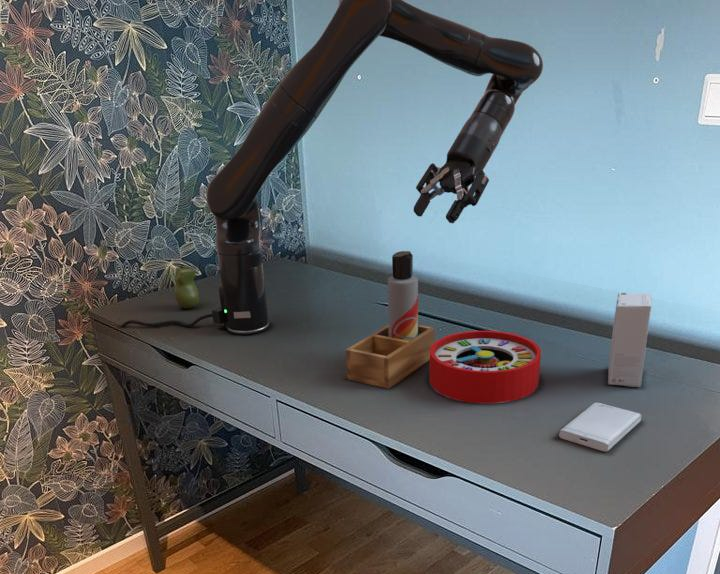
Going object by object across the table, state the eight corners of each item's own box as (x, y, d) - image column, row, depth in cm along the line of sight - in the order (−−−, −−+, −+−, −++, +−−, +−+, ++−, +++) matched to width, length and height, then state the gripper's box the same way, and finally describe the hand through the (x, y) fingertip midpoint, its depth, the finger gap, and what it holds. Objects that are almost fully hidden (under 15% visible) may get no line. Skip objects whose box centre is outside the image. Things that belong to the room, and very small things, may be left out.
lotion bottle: (415, 360, 149) (415, 256, 139) (386, 359, 150) (384, 256, 140) (419, 349, 154) (419, 248, 144) (391, 348, 155) (389, 247, 145)
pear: (192, 302, 189) (186, 261, 184) (205, 307, 186) (199, 265, 180) (173, 308, 185) (166, 267, 180) (186, 313, 182) (179, 271, 177)
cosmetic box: (640, 388, 137) (653, 307, 129) (605, 385, 139) (616, 305, 131) (641, 369, 144) (653, 291, 136) (607, 367, 146) (617, 290, 138)
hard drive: (594, 401, 130) (559, 428, 122) (642, 413, 125) (608, 443, 117) (593, 410, 131) (558, 438, 123) (640, 423, 126) (607, 452, 118)
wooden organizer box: (347, 379, 146) (345, 349, 143) (395, 348, 158) (394, 320, 155) (388, 389, 141) (388, 358, 138) (434, 356, 154) (435, 327, 150)
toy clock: (564, 358, 135) (464, 381, 129) (560, 389, 138) (463, 412, 132) (502, 323, 151) (410, 342, 145) (500, 351, 154) (411, 371, 148)
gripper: (438, 128, 149) (396, 200, 149) (495, 134, 140) (451, 210, 140) (456, 154, 155) (416, 223, 155) (512, 161, 146) (469, 234, 145)
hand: (432, 217), depth 147 cm, fingers open, 8 cm apart
